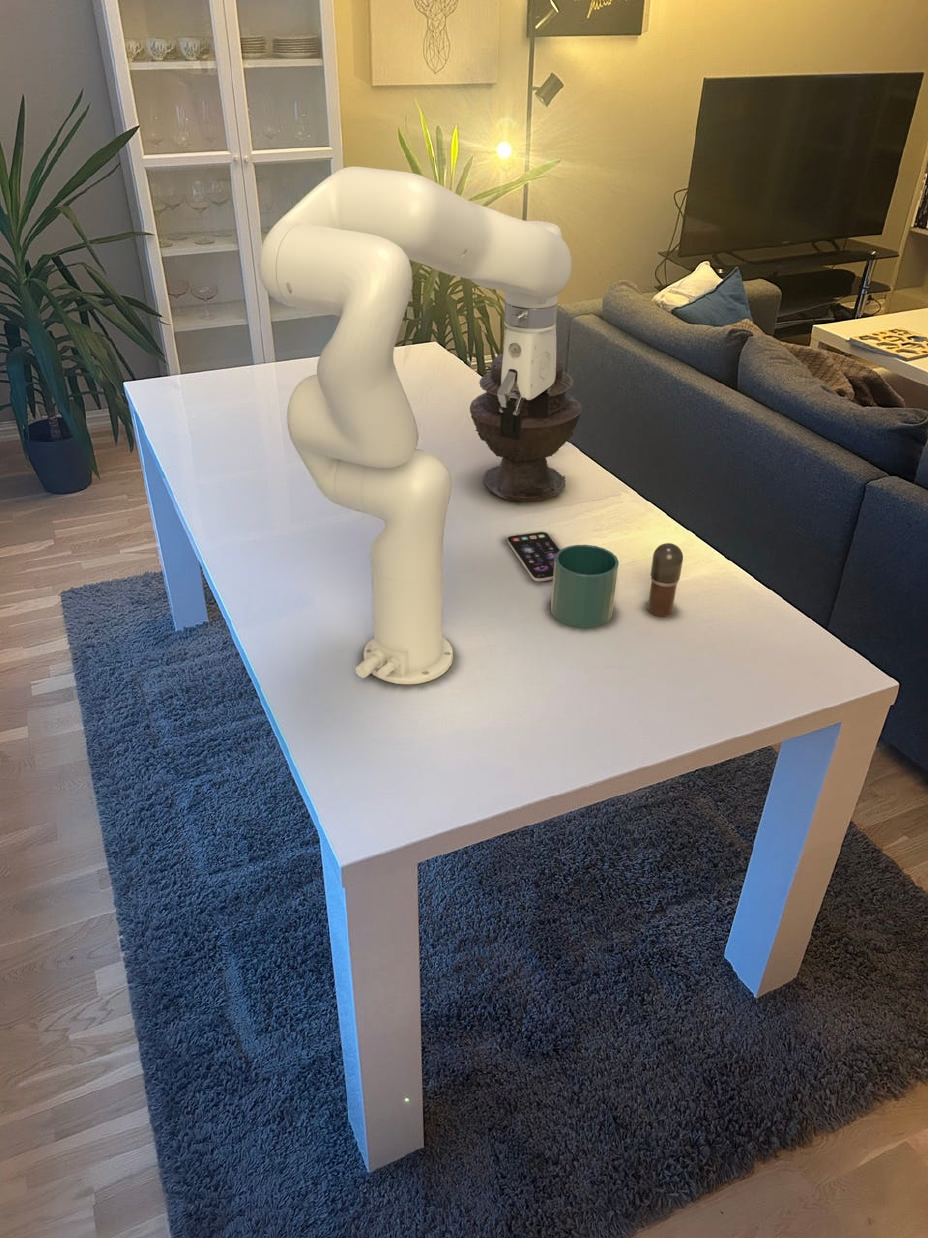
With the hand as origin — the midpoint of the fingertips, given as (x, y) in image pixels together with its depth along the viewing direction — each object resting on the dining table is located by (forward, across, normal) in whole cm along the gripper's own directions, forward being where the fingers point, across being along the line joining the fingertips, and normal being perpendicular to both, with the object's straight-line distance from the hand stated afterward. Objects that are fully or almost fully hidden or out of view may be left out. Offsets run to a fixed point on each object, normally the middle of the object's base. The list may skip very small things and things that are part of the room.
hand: (524, 426), depth 146 cm
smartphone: (+24, +2, -3) cm, 24 cm away
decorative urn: (+24, +25, +12) cm, 37 cm away
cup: (+23, -9, -16) cm, 30 cm away
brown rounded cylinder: (+23, -3, -26) cm, 35 cm away
